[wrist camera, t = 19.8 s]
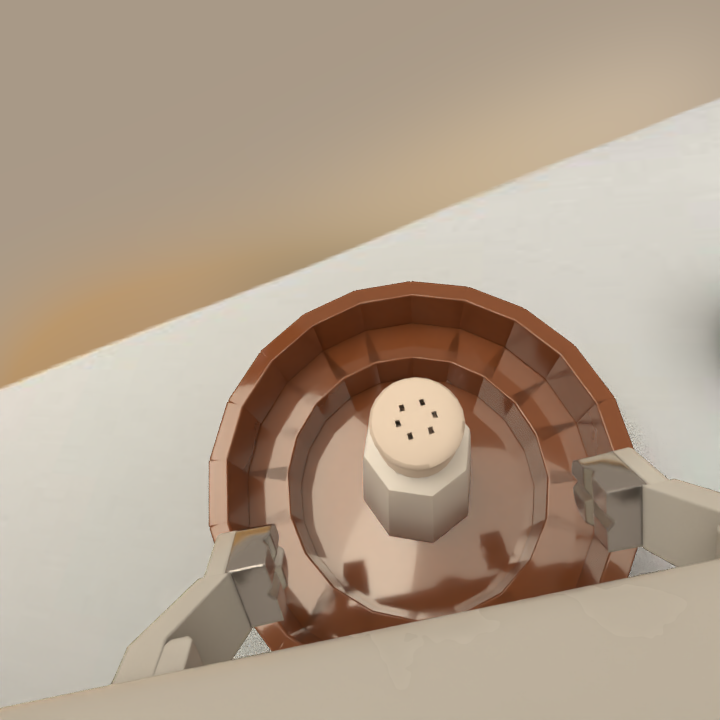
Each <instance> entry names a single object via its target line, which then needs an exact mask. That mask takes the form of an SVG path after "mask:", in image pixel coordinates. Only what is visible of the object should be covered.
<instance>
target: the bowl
mask: <svg viewBox="0 0 720 720" xmlns="http://www.w3.org/2000/svg"><path fill="white" fill-rule="evenodd" d="M414 377H418V378H427V379H430V380H433V381H436V382H439V383H440V384H442V385H443V386H445V387H446V388H448V389H449V390H450V391H451V392H452V393H453V394H454V396H455V397H456V398H457V399H458V401H459V403H460V405H461V407H462V409H463V413H464V418H465V424H466V425H467V426H468V428H469V429H470V434H471V480H470V494H469V508H468V516H466V517H465V518H464V519H463V520H461V521H460V522H459V523H458V524H456V525H455V526H454V527H453V528H451V529H450V530H449V531H448V532H446V533H445V534H444V535H443V536H441V537H440V538H439V539H438V540H436V541H435V542H434V543H432V542H426V541H420V540H414V539H407V538H401V537H395V536H389V534H388V533H387V532H386V530H385V529H384V527H383V526H382V524H381V523H380V522H379V520H378V519H377V517H376V516H375V515H374V513H373V512H372V510H371V509H370V508H369V506H368V505H367V503H366V502H365V500H364V488H363V458H364V450H365V443H366V437H367V431H368V425H369V417H370V410H371V408H372V406H373V404H374V401H375V399H376V398H377V397H378V396H379V394H380V393H381V392H382V391H383V390H384V389H385V388H387V387H388V386H389V385H391V384H392V383H394V382H397V381H399V380H402V379H406V378H414ZM228 401H229V402H227V405H226V408H225V411H224V415H223V418H222V421H221V424H220V428H219V431H218V434H217V437H216V441H215V444H214V447H213V450H212V454H211V457H210V461H209V527H210V531H211V534H212V538H213V541H214V544H215V541H216V538H217V536H218V535H219V534H221V533H226V532H231V531H238V530H241V529H246V528H251V527H257V526H262V525H267V524H274V525H275V526H276V528H277V531H278V533H279V542H278V545H279V546H280V547H282V548H283V549H284V552H285V555H286V559H287V564H288V576H289V577H288V586H287V587H286V588H285V589H284V593H285V596H286V607H285V616H284V620H283V621H279V622H274V623H270V624H266V625H262V626H258V627H254V628H255V629H256V630H257V632H258V633H259V635H260V636H261V637H262V639H263V640H264V641H265V643H266V644H267V646H268V647H269V648H270V650H271V651H276V650H281V649H286V648H291V647H296V646H300V645H305V644H310V643H315V642H320V641H324V640H329V639H334V638H339V637H344V636H349V635H353V634H358V633H363V632H368V631H373V630H378V629H382V628H387V627H392V626H397V625H402V624H406V623H411V622H416V621H421V620H426V619H431V618H435V617H440V616H445V615H450V614H455V613H460V612H464V611H469V610H474V609H479V608H484V607H488V606H493V605H498V604H503V603H508V602H513V601H517V600H522V599H527V598H532V597H537V596H541V595H546V594H551V593H556V592H561V591H566V590H570V589H575V588H580V587H585V586H590V585H594V584H599V583H604V582H609V581H614V580H618V579H623V578H628V576H629V573H630V570H631V567H632V564H633V561H634V558H635V554H636V551H637V548H638V547H637V548H631V549H626V550H620V551H615V552H608V551H607V550H606V549H605V547H604V546H603V545H602V543H601V542H600V541H599V539H598V538H597V537H596V535H595V530H594V526H592V525H590V524H587V523H586V522H585V521H584V519H583V518H582V517H581V515H580V513H579V511H578V509H577V506H576V503H575V500H574V492H573V487H574V486H575V484H576V482H577V481H578V480H577V479H576V478H575V477H574V475H573V474H572V462H573V460H577V459H582V458H586V457H591V456H595V455H600V454H604V453H609V452H611V451H615V450H619V449H623V448H627V447H629V448H632V449H634V448H633V445H632V443H631V440H630V437H629V435H628V432H627V429H626V427H625V424H624V421H623V418H622V416H621V413H620V410H619V408H618V405H617V402H616V399H615V398H614V396H613V395H612V393H611V392H610V391H609V389H608V388H607V387H606V385H605V384H604V383H603V381H602V380H601V379H600V378H599V376H598V375H597V374H596V372H595V371H594V370H593V368H592V367H591V366H590V364H589V363H588V362H587V361H586V359H585V358H584V357H583V355H582V354H581V353H580V351H579V350H578V349H577V347H576V346H574V344H572V343H571V342H570V341H568V340H567V339H566V338H564V337H563V336H562V335H560V334H559V333H557V332H556V331H555V330H553V329H552V328H551V327H549V326H548V325H547V324H545V323H544V322H543V321H541V320H540V319H539V318H537V317H536V316H534V315H533V314H532V313H530V312H529V311H528V310H526V309H524V308H523V307H520V306H518V305H515V304H512V303H510V302H507V301H504V300H502V299H499V298H497V297H494V296H491V295H489V294H486V293H483V292H481V291H478V290H476V289H473V288H470V287H469V288H468V287H466V286H455V285H445V284H435V283H425V282H414V281H412V282H410V281H409V282H403V283H397V284H391V285H385V286H379V287H373V288H367V289H361V290H356V291H353V292H350V293H348V294H346V295H344V296H342V297H340V298H338V299H335V300H333V301H331V302H329V303H327V304H325V305H323V306H320V307H318V308H316V309H314V310H312V311H310V312H307V313H305V314H304V315H302V316H301V317H300V318H299V319H298V320H296V321H295V322H294V323H293V324H292V325H291V326H289V327H288V328H287V329H286V330H285V331H284V332H282V333H281V334H280V335H279V336H278V337H276V338H275V339H274V340H273V341H272V342H271V343H269V344H268V345H267V346H266V347H265V348H264V349H262V350H261V353H259V354H258V356H257V358H256V359H255V361H254V362H253V364H252V365H251V367H250V368H249V370H248V371H247V373H246V374H245V376H244V377H243V379H242V380H241V382H240V383H239V385H238V386H237V388H236V389H235V391H234V392H233V394H232V395H231V397H230V398H229V400H228Z"/></svg>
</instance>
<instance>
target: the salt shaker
mask: <svg viewBox="0 0 720 720" xmlns="http://www.w3.org/2000/svg"><path fill="white" fill-rule="evenodd" d="M470 480H471V434H470V429H469V428H468V426H467V425H466V424H465V418H464V413H463V409H462V407H461V405H460V403H459V401H458V399H457V398H456V397H455V396H454V394H453V393H452V392H451V391H450V390H449V389H448V388H446V387H445V386H443V385H442V384H440V383H439V382H436V381H433V380H430V379H427V378H418V377H414V378H406V379H402V380H399V381H397V382H394V383H392V384H391V385H389V386H388V387H387V388H385V389H384V390H383V391H382V392H381V393H380V394H379V396H378V397H377V398H376V399H375V401H374V404H373V406H372V408H371V410H370V417H369V425H368V431H367V437H366V443H365V450H364V458H363V488H364V500H365V502H366V503H367V505H368V506H369V508H370V509H371V510H372V512H373V513H374V515H375V516H376V517H377V519H378V520H379V522H380V523H381V524H382V526H383V527H384V529H385V530H386V532H387V533H388V534H389V536H395V537H401V538H407V539H414V540H420V541H426V542H432V543H434V542H435V541H436V540H438V539H439V538H440V537H441V536H443V535H444V534H445V533H446V532H448V531H449V530H450V529H451V528H453V527H454V526H455V525H456V524H458V523H459V522H460V521H461V520H463V519H464V518H465V517H466V516H468V508H469V494H470Z"/></svg>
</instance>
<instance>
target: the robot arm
mask: <svg viewBox="0 0 720 720" xmlns="http://www.w3.org/2000/svg"><path fill="white" fill-rule="evenodd" d="M572 474H573V475H574V477H575V478H576V479H577V480H578V481H577V482H576V484H575V486H574V487H573V492H574V500H575V503H576V506H577V509H578V511H579V513H580V515H581V517H582V518H583V519H584V521H585V522H586V523H587V524H590V525H592V526H594V530H595V535H596V537H597V538H598V539H599V541H600V542H601V543H602V545H603V546H604V547H605V549H606V550H607V551H608V552H615V551H620V550H626V549H631V548H637V547H643V548H644V549H645V550H647V551H649V552H651V553H653V554H655V555H656V556H658V557H660V558H662V559H664V560H665V561H667V562H669V563H671V564H673V565H675V566H676V568H671V569H667V570H662V571H657V572H652V573H647V574H642V575H638V576H633V577H628V578H623V579H618V580H614V581H609V582H604V583H599V584H594V585H590V586H585V587H580V588H575V589H570V590H566V591H561V592H556V593H551V594H546V595H541V596H537V597H532V598H527V599H522V600H517V601H513V602H508V603H503V604H498V605H493V606H488V607H484V608H479V609H474V610H469V611H464V612H460V613H455V614H450V615H445V616H440V617H435V618H431V619H426V620H421V621H416V622H411V623H406V624H402V625H397V626H392V627H387V628H382V629H378V630H373V631H368V632H363V633H358V634H353V635H349V636H344V637H339V638H334V639H329V640H324V641H320V642H315V643H310V644H305V645H300V646H296V647H291V648H286V649H281V650H276V651H271V652H267V653H262V654H257V655H252V656H247V657H242V658H238V659H233V657H234V656H235V654H236V653H237V651H238V650H239V648H240V647H241V645H242V644H243V642H244V641H245V639H246V638H247V636H248V635H249V633H250V632H251V630H252V629H251V628H253V627H258V626H262V625H266V624H270V623H274V622H279V621H283V620H284V616H285V607H286V596H285V593H284V589H285V588H286V587H287V586H288V577H289V576H288V564H287V559H286V555H285V552H284V549H283V548H282V547H280V546H279V545H278V542H279V533H278V531H277V528H276V526H275V525H274V524H267V525H262V526H257V527H251V528H246V529H241V530H238V531H231V532H226V533H221V534H219V535H218V536H217V538H216V541H215V544H214V547H213V550H212V554H211V557H210V560H209V563H208V566H207V569H206V572H205V575H204V578H200V579H198V580H197V581H196V582H195V583H194V584H193V585H192V586H191V587H189V588H188V589H187V590H186V591H185V592H184V593H183V594H182V595H181V596H180V597H179V598H178V599H177V600H176V601H175V602H174V603H173V604H172V605H171V606H170V607H169V608H168V609H167V610H166V611H164V612H163V613H162V614H161V615H160V616H159V617H158V618H157V619H156V620H155V621H154V622H153V623H152V624H151V625H150V626H149V627H148V628H147V629H146V630H145V631H144V632H143V633H142V634H141V635H140V636H138V637H137V638H136V639H135V640H134V641H133V642H132V643H131V644H130V645H129V646H128V647H127V649H126V652H125V654H124V656H123V658H122V661H121V663H120V665H119V668H118V670H117V672H116V674H115V677H114V679H113V681H112V683H111V685H108V686H103V687H98V688H93V689H88V690H83V691H79V692H74V693H69V694H64V695H59V696H55V697H50V698H45V699H40V700H35V701H30V702H26V703H21V704H16V705H11V706H6V707H2V708H0V720H720V492H717V491H713V490H710V489H707V488H704V487H700V486H697V485H694V484H690V483H687V482H684V481H680V480H677V479H671V480H669V479H667V478H666V477H665V476H664V475H663V474H662V473H660V472H659V471H658V470H657V469H656V468H655V467H653V466H652V465H651V464H650V463H649V462H648V461H646V460H645V459H644V458H643V457H642V456H641V455H640V454H638V453H637V452H636V451H635V450H634V449H632V448H629V447H627V448H623V449H619V450H615V451H611V452H609V453H604V454H600V455H595V456H591V457H586V458H582V459H577V460H573V462H572ZM232 659H233V660H232Z"/></svg>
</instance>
